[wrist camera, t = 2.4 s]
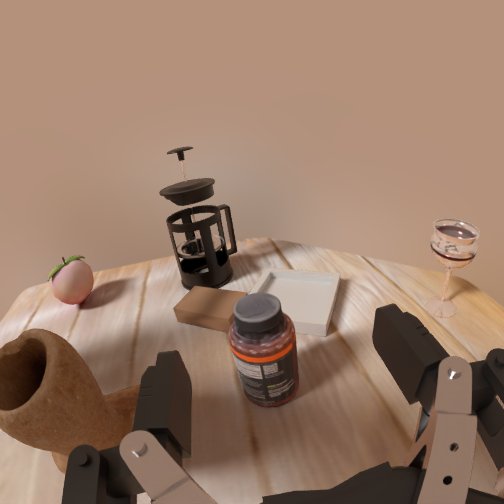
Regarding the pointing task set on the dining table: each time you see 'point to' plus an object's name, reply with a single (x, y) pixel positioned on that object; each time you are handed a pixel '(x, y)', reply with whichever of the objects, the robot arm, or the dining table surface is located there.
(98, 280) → the dining table surface
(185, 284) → the french press
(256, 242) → the dining table surface
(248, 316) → the supplement bottle
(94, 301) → the dining table surface
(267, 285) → the tray
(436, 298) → the wineglass
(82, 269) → the decorative fruit
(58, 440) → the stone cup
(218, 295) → the brown block
